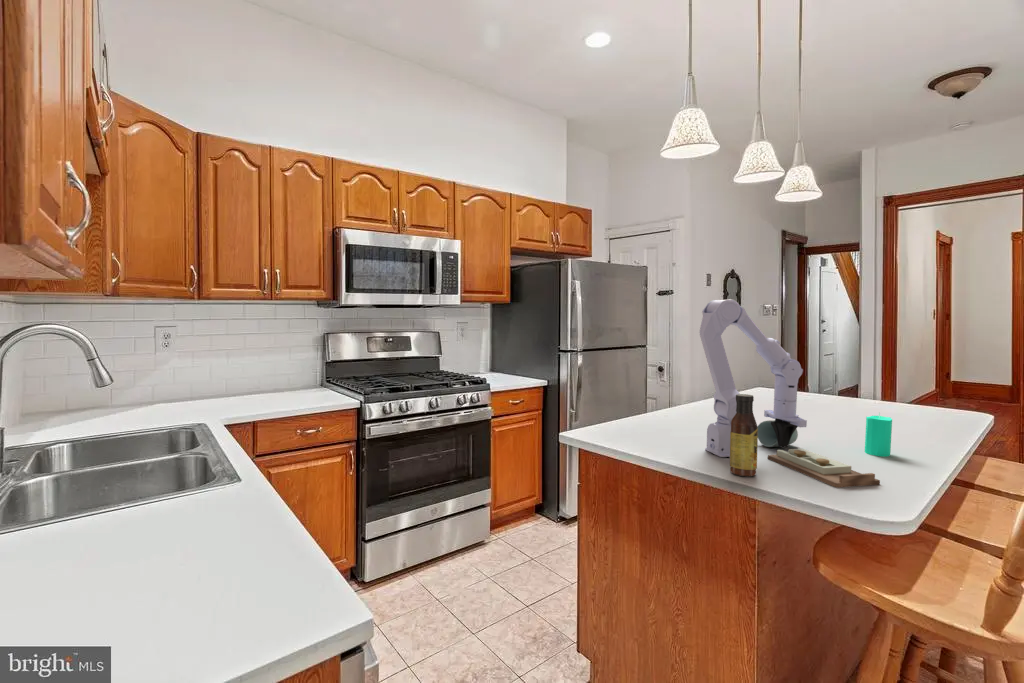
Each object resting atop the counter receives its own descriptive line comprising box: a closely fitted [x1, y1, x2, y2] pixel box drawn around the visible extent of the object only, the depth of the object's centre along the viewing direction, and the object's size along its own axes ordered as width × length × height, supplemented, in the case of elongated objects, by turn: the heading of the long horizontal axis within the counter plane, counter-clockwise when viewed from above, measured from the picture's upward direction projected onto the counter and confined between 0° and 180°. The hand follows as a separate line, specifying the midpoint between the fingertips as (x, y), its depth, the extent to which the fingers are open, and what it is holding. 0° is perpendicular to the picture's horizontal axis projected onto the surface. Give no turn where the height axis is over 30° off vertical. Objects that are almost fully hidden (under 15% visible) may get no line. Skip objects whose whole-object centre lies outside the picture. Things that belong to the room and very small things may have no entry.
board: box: [767, 450, 881, 489], centre depth 129 cm, size 12×23×4 cm, turn 11°
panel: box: [776, 448, 852, 474], centre depth 132 cm, size 8×16×2 cm, turn 11°
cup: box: [757, 419, 799, 448], centre depth 153 cm, size 8×8×10 cm
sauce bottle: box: [729, 393, 759, 477], centre depth 126 cm, size 6×6×20 cm
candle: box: [864, 412, 893, 457], centre depth 145 cm, size 6×6×12 cm
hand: (783, 446), depth 145 cm, fingers closed
